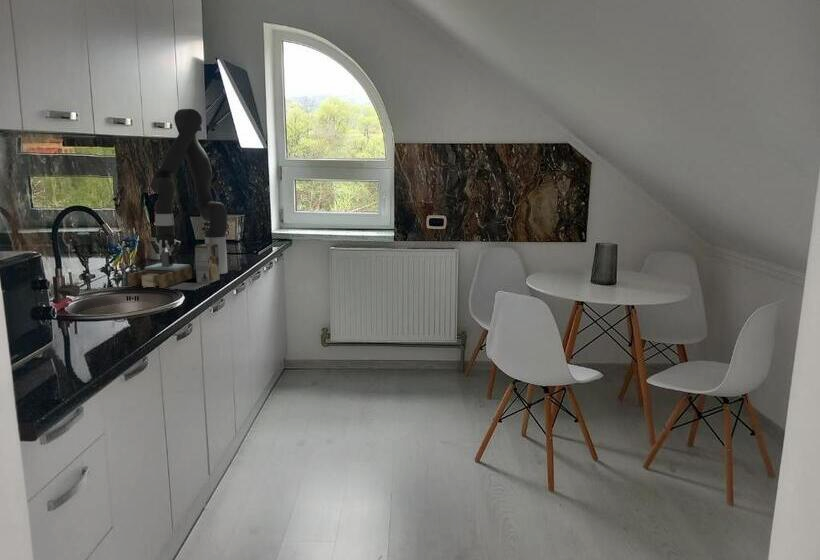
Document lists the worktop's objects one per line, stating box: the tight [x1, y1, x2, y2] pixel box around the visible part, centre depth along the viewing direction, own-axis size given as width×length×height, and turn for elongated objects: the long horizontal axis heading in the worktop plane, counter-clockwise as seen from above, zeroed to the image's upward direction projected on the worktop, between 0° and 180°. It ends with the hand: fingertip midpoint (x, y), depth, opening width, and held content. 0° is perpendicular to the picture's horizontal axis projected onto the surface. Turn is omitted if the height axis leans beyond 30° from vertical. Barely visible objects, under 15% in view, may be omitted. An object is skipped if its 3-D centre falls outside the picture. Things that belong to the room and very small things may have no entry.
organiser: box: [127, 265, 193, 289], centre depth 272 cm, size 24×15×6 cm, turn 170°
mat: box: [168, 282, 210, 291], centre depth 264 cm, size 12×12×1 cm
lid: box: [144, 251, 191, 271], centre depth 276 cm, size 11×15×7 cm
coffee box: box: [194, 243, 221, 284], centre depth 275 cm, size 9×6×16 cm
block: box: [141, 274, 159, 288], centre depth 265 cm, size 5×5×5 cm
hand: (167, 263), depth 276 cm, fingers closed on lid, 3 cm apart
